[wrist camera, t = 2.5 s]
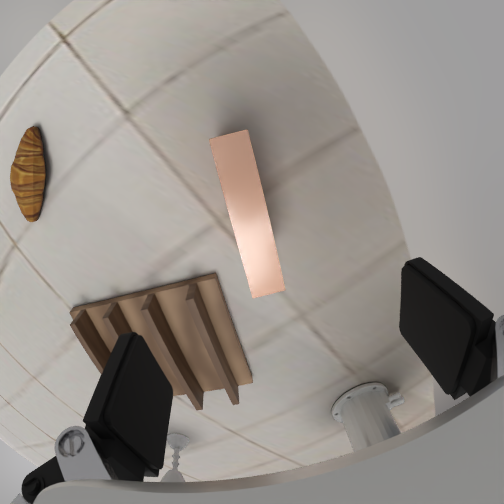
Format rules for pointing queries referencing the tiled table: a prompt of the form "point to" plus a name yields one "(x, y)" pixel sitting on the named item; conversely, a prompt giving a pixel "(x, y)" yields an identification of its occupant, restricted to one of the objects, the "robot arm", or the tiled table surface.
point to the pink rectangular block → (248, 211)
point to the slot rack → (172, 335)
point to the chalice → (175, 457)
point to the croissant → (29, 174)
